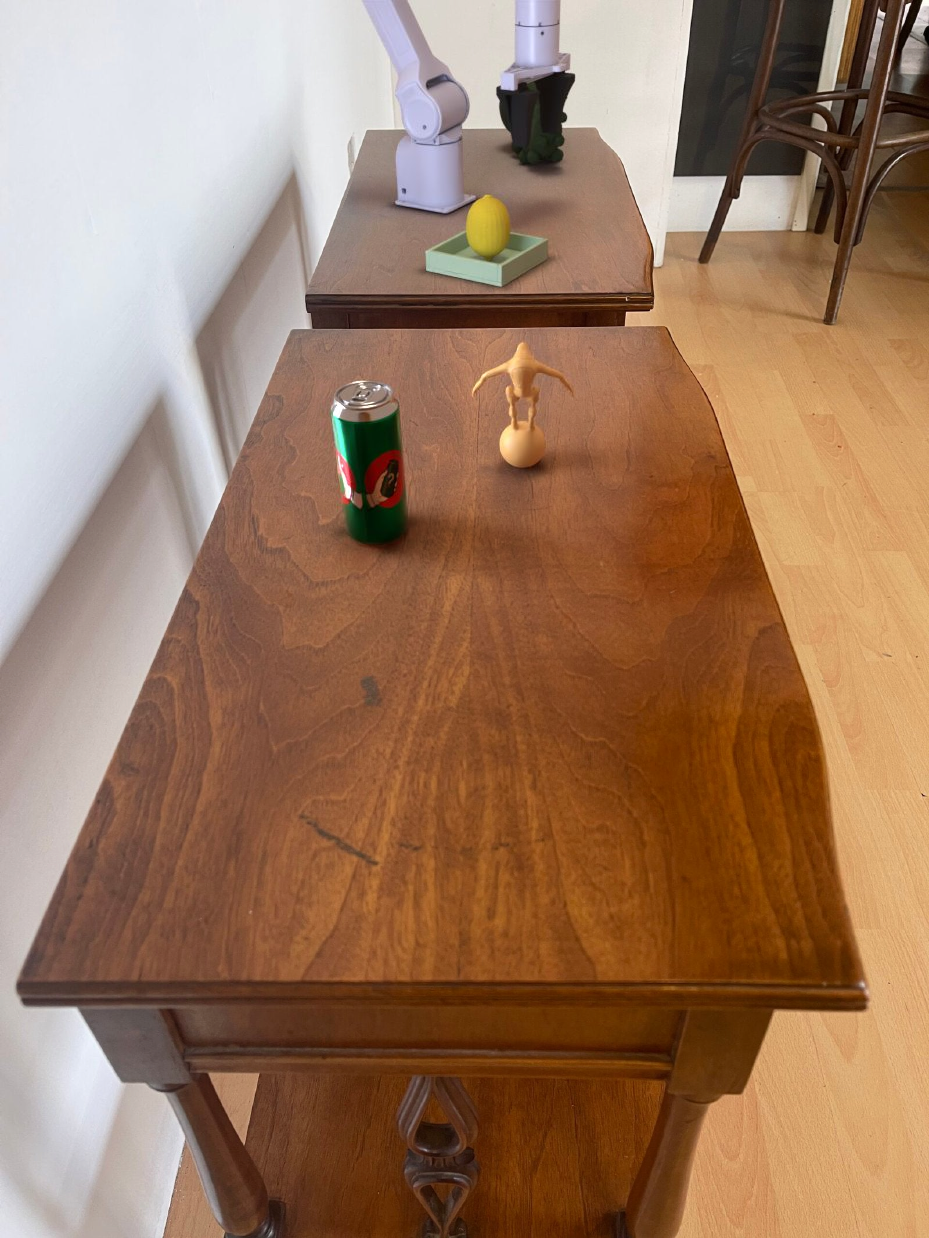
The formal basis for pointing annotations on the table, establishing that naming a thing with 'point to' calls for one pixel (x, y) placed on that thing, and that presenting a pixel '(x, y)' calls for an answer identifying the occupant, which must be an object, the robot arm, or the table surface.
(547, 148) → the dark green bumpy figure
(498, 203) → the lemon
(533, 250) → the tray
